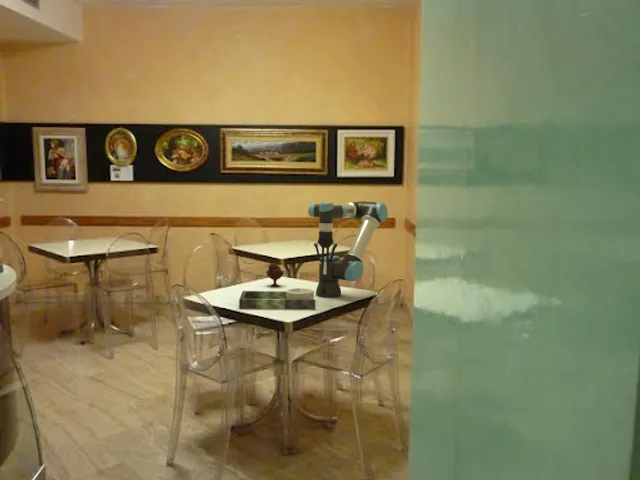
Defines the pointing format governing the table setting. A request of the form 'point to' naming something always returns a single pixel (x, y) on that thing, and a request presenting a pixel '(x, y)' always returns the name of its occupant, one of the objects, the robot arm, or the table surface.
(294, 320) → the table surface
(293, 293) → the paper bowls
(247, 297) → the shallow tray
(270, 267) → the ice cream bowl
